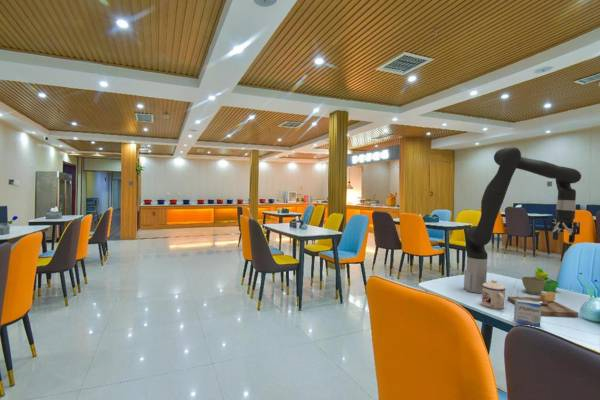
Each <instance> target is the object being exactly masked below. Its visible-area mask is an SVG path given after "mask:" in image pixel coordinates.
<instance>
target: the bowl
mask: <svg viewBox="0 0 600 400" xmlns="http://www.w3.org/2000/svg"><path fill="white" fill-rule="evenodd" d="M521 280H522V284H523V287H524V289H525V291H526V293H528V294H531V295H532V294H533V295H540V294H542V292H543V291H544V290H543V288H544V286H545V283H546V280H544V279H541V278H536V277H533V276H522V277H521Z"/></svg>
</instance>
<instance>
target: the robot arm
mask: <svg viewBox="0 0 600 400" xmlns="http://www.w3.org/2000/svg"><path fill="white" fill-rule="evenodd" d="M493 160H494V162H495V163H496V165H498V166H499V167H498V170H497V171H496V174H495V175H494V177H493V178H492V179H491V180H490V181H489V183H488V184H487V186H486V187H485V189H484V191H483V195H482V196H481V203H480V204H481V205H480V218H479V220H478V223H477V225H473V226H470V227H469V228H468V229H467V231H466V234H465V251H466V268H465V269H466V270H464V274H463V275H464V276H463V278H464V279H463V289H464V290H466V291H467V292H470V293H476V294H482V290H483V286H482V285H483V283H487V273H488V271H487V270H488V252H487V251H486V249H485V247H486V245H488V244H489V243H490V241H491V240H492V237H493V233H494V229H495V226H496V225H495V224H496V221H497V219H498V216H499V213H500V209H501V208H502V205H503V203H504V201H505V200H504V199H505V196H506V194H507V191H508V188H509V186H510V183H511V180H512V179H513V175H514V174H515V172H516V169H518V170H522V171H525V172H528V173H532V174H535V175H538V176H541V177H545V178H548V179H555V183H556V190H557V201H556V207H555V208H556V209H555V218H553V219H552V218H551V219H550V222H549V229H548V230H549V231H550V232H552V240H553V241H558V240H559V232H560V231H561V230H565V231H566V232H568V234H569V235H568V243H570V244H573V243H575V239H576V236H578V235H580V233H581V222H579V221H574V220H575V219H576V208H577V207H576V206H577V204H576V199H577V191H576V189H574V188H572V186H571V184H576V183H578V182H580V181H581V179H582V174H581V172H580V171H579V170H577V169H575V168H572V167H568V166H567V167H566V166H561V165H557V164H554V163H552V162H551V163H550V162H548V161H545V160H538V159H532V158H528V157H524V156H522V153H521V150H520V149H519V148H518V147H515V146H510V147H506V148H505V147H504V148H501V149H499V150H496V152H495V153H494V155H493Z"/></svg>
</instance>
